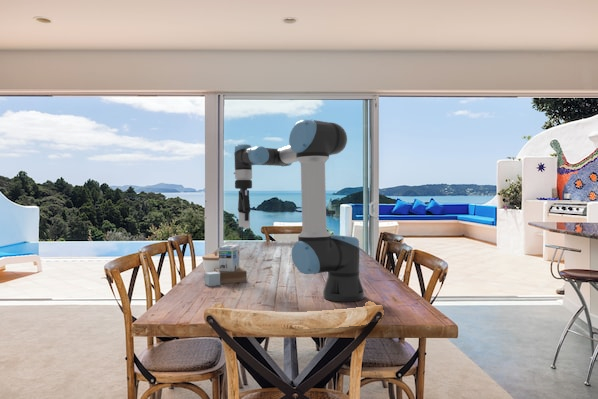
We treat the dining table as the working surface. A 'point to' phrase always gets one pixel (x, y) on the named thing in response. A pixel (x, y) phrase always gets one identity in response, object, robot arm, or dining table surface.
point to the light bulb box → (229, 258)
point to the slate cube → (212, 278)
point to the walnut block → (232, 275)
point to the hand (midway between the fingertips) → (244, 227)
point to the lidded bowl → (210, 262)
